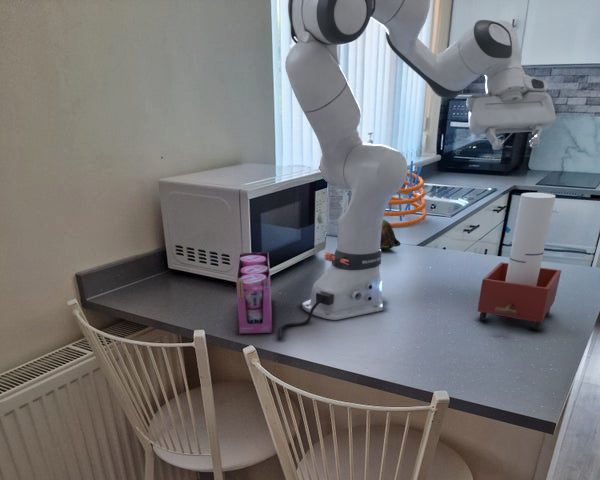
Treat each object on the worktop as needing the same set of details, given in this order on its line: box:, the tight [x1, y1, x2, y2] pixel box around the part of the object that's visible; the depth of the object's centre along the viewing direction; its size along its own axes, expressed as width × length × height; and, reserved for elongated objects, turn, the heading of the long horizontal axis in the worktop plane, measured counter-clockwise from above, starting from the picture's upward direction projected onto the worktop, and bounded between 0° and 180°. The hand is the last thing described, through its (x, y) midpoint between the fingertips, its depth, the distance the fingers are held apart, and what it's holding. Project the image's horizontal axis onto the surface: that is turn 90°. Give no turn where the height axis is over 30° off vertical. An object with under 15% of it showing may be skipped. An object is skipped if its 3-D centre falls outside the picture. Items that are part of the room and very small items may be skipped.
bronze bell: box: [380, 218, 402, 251], centre depth 190 cm, size 17×11×18 cm
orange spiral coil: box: [348, 160, 428, 228], centre depth 232 cm, size 34×35×24 cm
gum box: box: [235, 251, 272, 334], centre depth 133 cm, size 24×8×14 cm, turn 3°
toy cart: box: [477, 262, 562, 332], centre depth 129 cm, size 22×15×11 cm, turn 148°
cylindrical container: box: [505, 192, 556, 286], centre depth 126 cm, size 7×7×25 cm
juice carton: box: [318, 165, 350, 237], centre depth 209 cm, size 9×10×27 cm
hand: (516, 147), depth 126 cm, fingers open, 8 cm apart
